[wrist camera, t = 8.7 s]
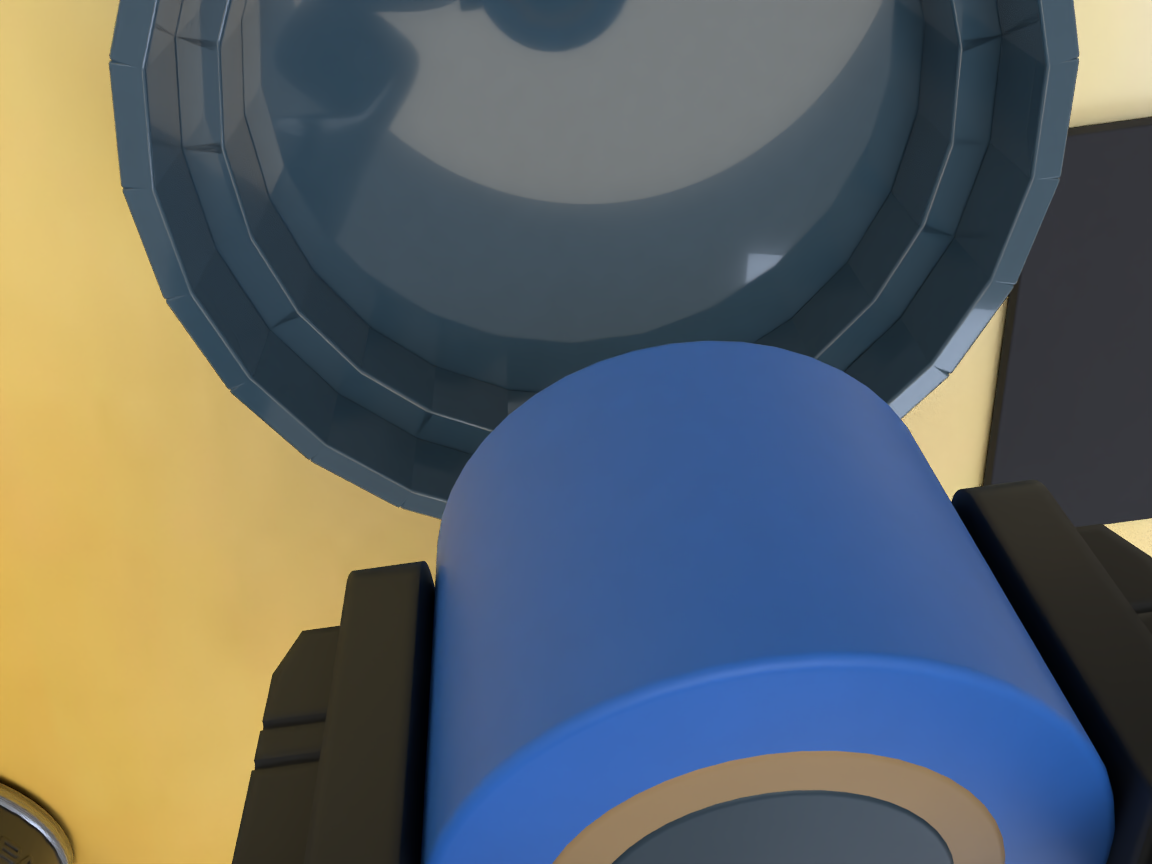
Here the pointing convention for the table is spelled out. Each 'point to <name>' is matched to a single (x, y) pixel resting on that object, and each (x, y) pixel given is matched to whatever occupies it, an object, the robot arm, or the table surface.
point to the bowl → (574, 195)
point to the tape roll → (734, 638)
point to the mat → (1084, 337)
